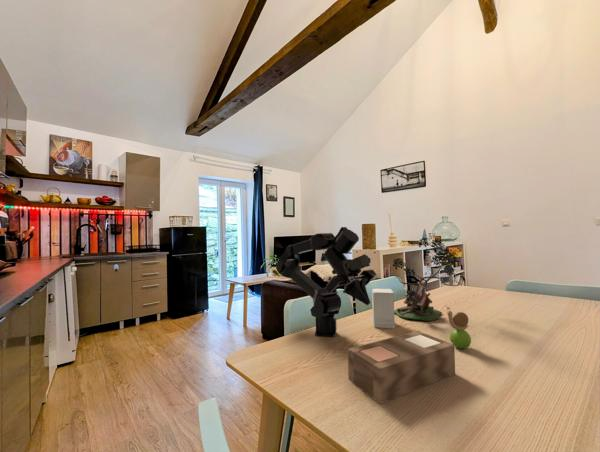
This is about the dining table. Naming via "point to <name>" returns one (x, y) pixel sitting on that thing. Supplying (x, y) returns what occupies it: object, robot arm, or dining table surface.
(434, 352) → the brown striped box
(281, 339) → the dining table surface
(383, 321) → the supplement box
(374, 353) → the salmon pink block
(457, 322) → the snail figurine
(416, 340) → the white box
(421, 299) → the bonsai tree
